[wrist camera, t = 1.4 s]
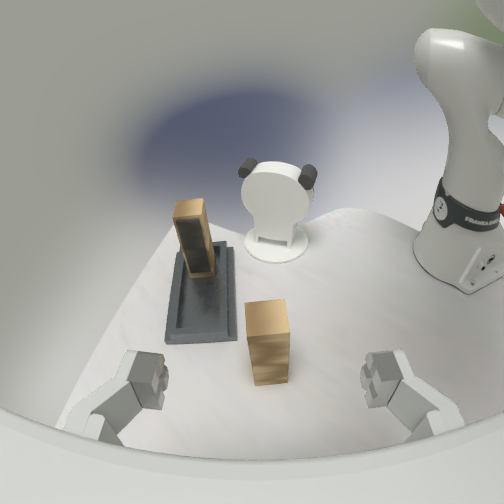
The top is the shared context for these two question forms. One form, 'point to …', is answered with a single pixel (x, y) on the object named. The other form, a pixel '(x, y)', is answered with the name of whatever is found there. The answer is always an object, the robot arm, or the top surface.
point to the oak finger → (268, 340)
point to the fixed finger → (195, 237)
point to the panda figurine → (276, 208)
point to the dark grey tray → (203, 302)
